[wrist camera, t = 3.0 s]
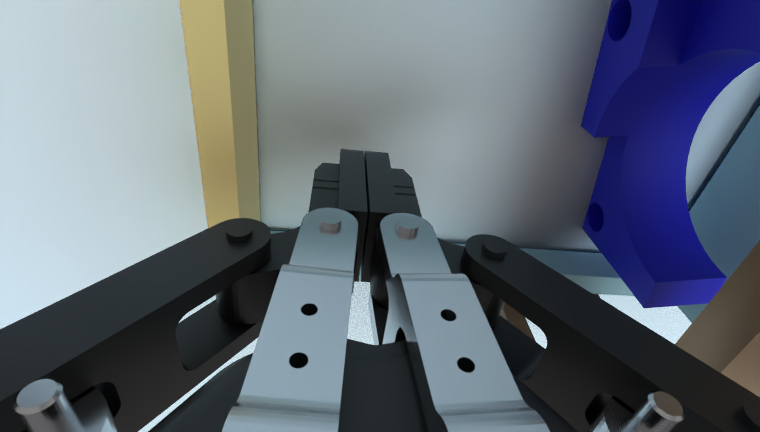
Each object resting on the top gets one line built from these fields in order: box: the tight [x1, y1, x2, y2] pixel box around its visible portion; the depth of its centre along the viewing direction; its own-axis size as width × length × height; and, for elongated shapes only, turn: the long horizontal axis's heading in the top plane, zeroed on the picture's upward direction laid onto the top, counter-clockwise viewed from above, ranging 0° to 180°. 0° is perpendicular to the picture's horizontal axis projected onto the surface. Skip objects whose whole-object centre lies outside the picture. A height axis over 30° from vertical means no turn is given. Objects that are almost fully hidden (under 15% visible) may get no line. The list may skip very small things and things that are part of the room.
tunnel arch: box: [500, 240, 760, 397], centre depth 14 cm, size 20×6×12 cm, turn 173°
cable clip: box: [581, 0, 760, 308], centre depth 17 cm, size 12×4×6 cm, turn 2°
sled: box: [180, 0, 760, 323], centre depth 17 cm, size 16×25×4 cm, turn 83°
